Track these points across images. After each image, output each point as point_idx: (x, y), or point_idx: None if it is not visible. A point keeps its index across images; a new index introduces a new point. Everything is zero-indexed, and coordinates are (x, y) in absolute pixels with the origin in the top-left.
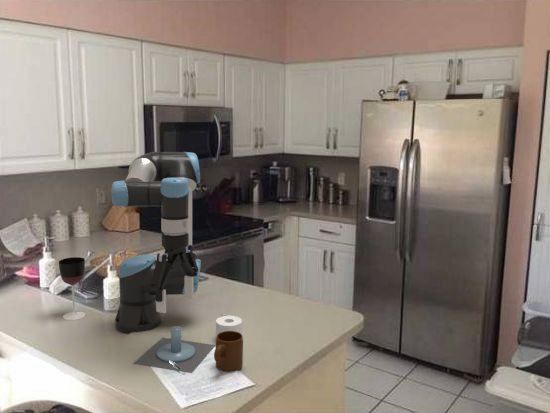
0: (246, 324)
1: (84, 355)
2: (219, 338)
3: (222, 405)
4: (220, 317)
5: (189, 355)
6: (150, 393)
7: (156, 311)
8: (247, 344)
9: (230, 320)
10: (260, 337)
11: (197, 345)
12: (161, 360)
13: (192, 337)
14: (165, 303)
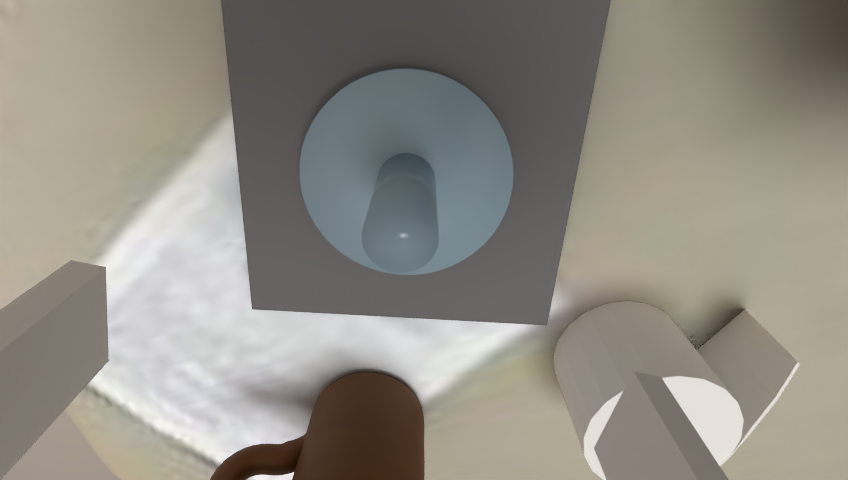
0: (825, 382)
1: None
2: (367, 476)
3: (111, 449)
4: (712, 388)
5: (373, 265)
6: (37, 197)
7: (69, 263)
8: None
9: None
10: None
11: (527, 246)
12: None
13: (648, 176)
14: (25, 441)
